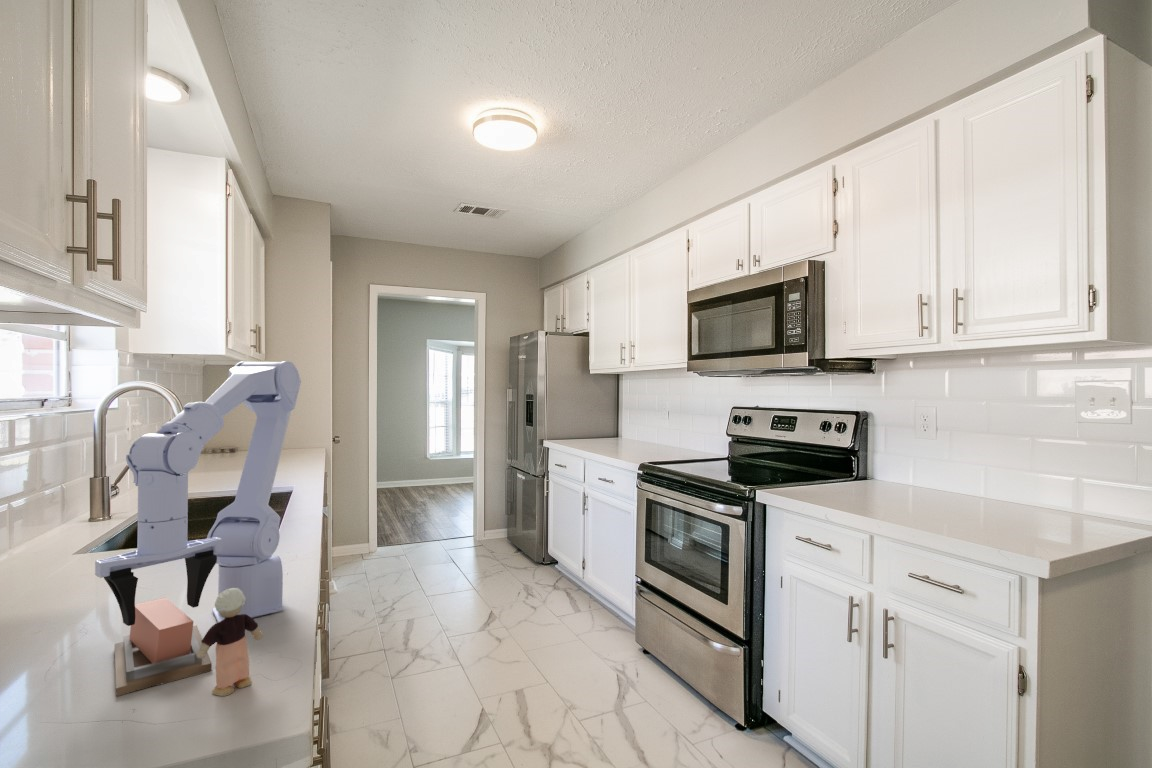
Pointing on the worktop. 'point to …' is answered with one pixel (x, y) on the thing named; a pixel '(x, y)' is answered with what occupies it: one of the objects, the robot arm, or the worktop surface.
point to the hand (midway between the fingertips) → (162, 614)
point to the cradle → (155, 666)
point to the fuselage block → (161, 630)
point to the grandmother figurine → (230, 642)
